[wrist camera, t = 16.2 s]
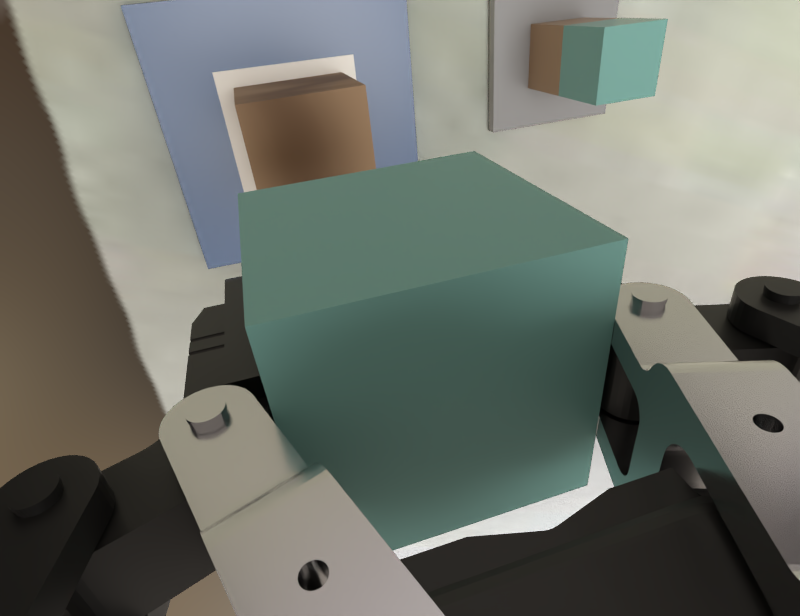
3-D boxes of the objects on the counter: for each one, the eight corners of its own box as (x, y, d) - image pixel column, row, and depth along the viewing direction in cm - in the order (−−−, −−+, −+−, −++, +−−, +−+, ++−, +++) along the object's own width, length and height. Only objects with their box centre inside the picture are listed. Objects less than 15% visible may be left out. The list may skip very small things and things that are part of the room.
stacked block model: (615, -33, 26) (719, -44, 20) (598, 111, 29) (682, 134, 24) (489, -19, 24) (564, -28, 19) (488, 130, 28) (551, 159, 22)
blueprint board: (399, -22, 23) (405, -24, 22) (418, 220, 29) (422, 226, 29) (123, 5, 21) (119, 5, 20) (208, 262, 27) (208, 269, 26)
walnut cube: (341, 72, 23) (365, 84, 19) (357, 176, 26) (380, 207, 22) (233, 87, 23) (234, 104, 18) (260, 194, 25) (267, 230, 21)
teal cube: (474, 151, 11) (628, 238, 7) (476, 339, 13) (586, 485, 9) (237, 193, 10) (244, 326, 6) (291, 387, 12) (322, 573, 8)
